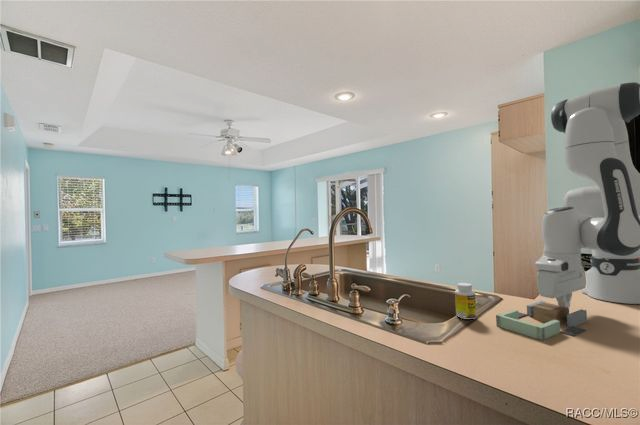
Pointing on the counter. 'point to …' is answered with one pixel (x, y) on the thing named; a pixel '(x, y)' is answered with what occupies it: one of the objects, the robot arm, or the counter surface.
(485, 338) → the counter surface
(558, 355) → the counter surface
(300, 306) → the counter surface
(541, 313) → the walnut block
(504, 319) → the trap channel
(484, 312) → the counter surface
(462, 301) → the supplement bottle
